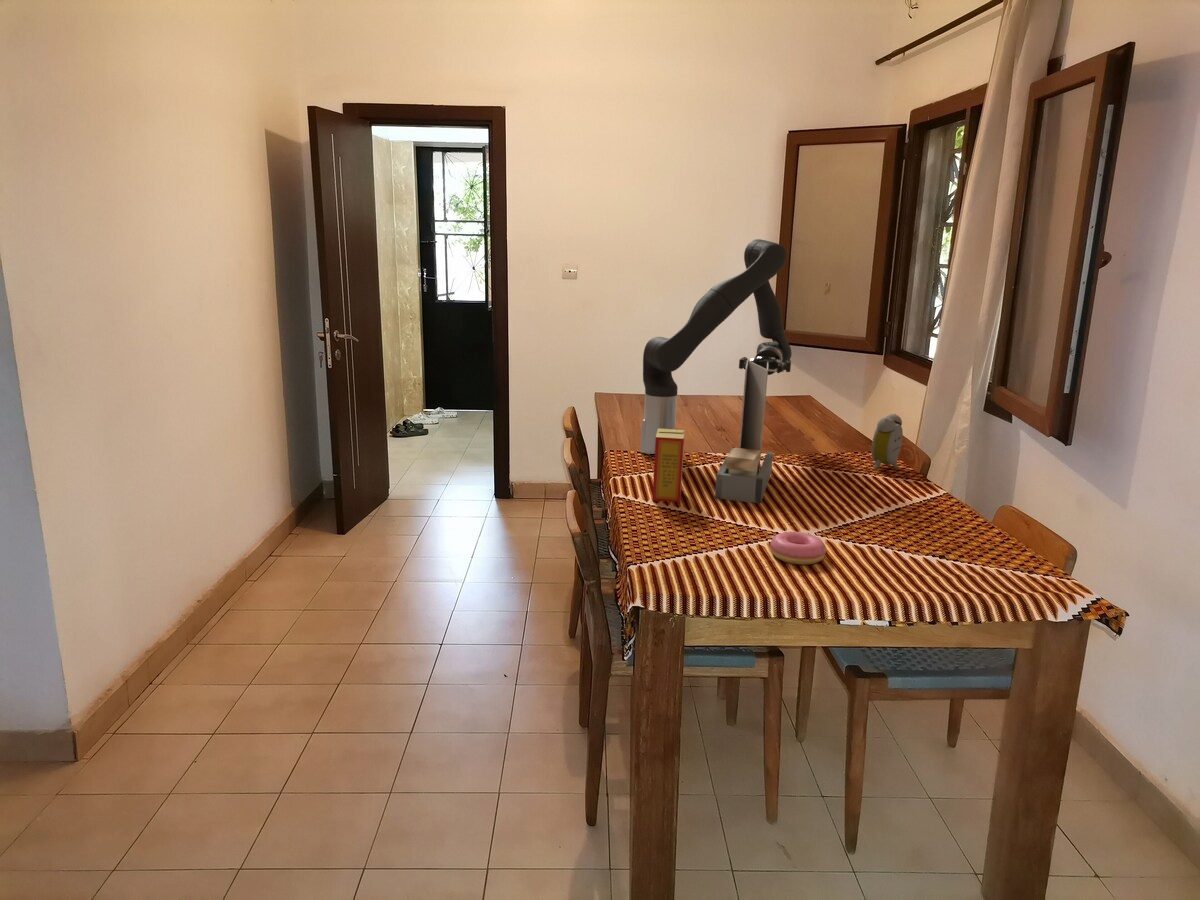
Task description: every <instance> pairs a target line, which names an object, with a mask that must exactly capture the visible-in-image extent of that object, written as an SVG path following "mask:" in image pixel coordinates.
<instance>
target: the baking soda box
mask: <svg viewBox="0 0 1200 900" xmlns="http://www.w3.org/2000/svg"><path fill="white" fill-rule="evenodd" d="M685 431H686V429H679V428H678V429H677V428H675V429H663V428H658V430H657V434H656V440H655V455H654V462H653V478H652V479H653V480H652V482H653V484H652V500H655V501H654V502H660V501H669V502H668V503H674V502H680V503H681V497H682V496H681V495H682V480H683V468H684V467H683V466H684V450H685V448H684V446H685V436H686V435H685V433H686V432H685ZM652 500H651V501H652Z"/></svg>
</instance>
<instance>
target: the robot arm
mask: <svg viewBox="0 0 1200 900" xmlns="http://www.w3.org/2000/svg"><path fill="white" fill-rule="evenodd" d="M787 257H788V254H787V250H786V248H785V247H784V246H783V245H781V244H779V243H778V242H774V241H770V240H766V239H761V238H758V239H753V240H751V241H750V242H748V243H747V245H746V247H745V250H744V252H743V261H744V265H745V270H744V271H742V272H741V273H739V274H737V275H734V276H733V277H730V278H728V279H727V278H726V279H725V280H723V281H720V282H719V283H717V284H716V285H713V286H712V288H710V289H709V290H708V291H707V292H706V293H704V295H703V296H701V297H700V299H699V300H698V301H697V302H696V303H695V305H694V307H693V309H692V311H691V314H690V316H689V319H688V320H687V322H686V323H685V325H683V326H682V328H680V329H679V331H677V332H676V333H675V334H673V335H672V336H671V337H670V338H667V337H664V336H663V337H662V336H655V337H652V338H651V339H650V340H648V341H647V342H646V345H645V346H644V350H643V354H642V355H643V356H642V381H643V385H644V391H645V392H644V407H643V408H644V409H643V410H644V411H643V412H644V414H643V419H642V421H641V435H640V436H641V437H640V454H641V453H643V454H647V455H650V454H655V440H656V434H657V430H658V428H663V429H676V424H677V422H676V420H677V405H678V403H677V402H678V384H677V382H676V381H674V378H673V375H672V372H675V371H677V370H678V369H680V368H681V366H683V364H684V363H686V361H687V360H688V359H689V357H691V355H692V354H693V352H695V350H696V349H697V348H698V347H699V345H700V344H701V343H702V342H703V341H704V340H705V339H707V338H708V337H709V335H711V333H713V332H714V330H716V329H717V328H718V327H719V326H720V325H721V324H722V323H723V322H725V321H726V320H727V318H729V317H730V315H732V314H733V312H734V311H735V310H736V309H738V308H739V306H741V305H742V304H743V303H744V302H745V301H746V300H747V299H748V298H749V297H750V296H751V295H752V294H753V296H754V301H755V305H756V309H757V310H756V311H757V319H758V327H759V333H760V336H761V337H762V338H764V339H770V340H773V341H764V342H761V343H760V344H758V345H757V347H756V355H755V357H751V358H750V359H748V357H746V356H743V357H741V358H740V359H739V361H738V369H740V370H742V369H743V370H745V368H746V364H747V360H748V361H750V362H753V363H755V364H757V365H759V366H761V367H763V368H765V369H767V362H768V376H771V375H774V374H775V373H776V374H781V373H783V372H784V371H785V373H791V370H792V369H791V368H792V367H791V365H792V360H791V358H792V348H791V346H790V343H789V341H788V339H787V336H786V334H785V333H786V332H785V330H784V324H783V315H782V309H781V305H780V303H779V300H778V298H777V296H776V295H775V292H774V291H773V288H772V286H771V283H770V280H771V279H772V278H774V277H775V276H777V274H778V273H780V271H781V270H782V269H783V267H784V266H785V264H786V261H787Z"/></svg>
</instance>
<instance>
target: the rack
mask: <svg viewBox="0 0 1200 900" xmlns="http://www.w3.org/2000/svg"><path fill="white" fill-rule="evenodd" d="M734 448H735V447H734ZM734 448H733V447H732V448H731V449H730V451H729V452H728V454H727V456H728V455H729V454H730V453H731V452H732V450H733V449H734ZM727 456H726V458H725V459H724V461H723V463H722V464H721V465H720V468H719V469H718V471H717V473H716V474H715V476H716V478H715V488H714V491H715V493H714V499H719V500H728V501H729V500H730V501H735V500H736V502H746V503H752V502H753V504H760V503H762V502H763V501H762V500H763V498H764V495H765V493H766V489H767V487H768V484H769V482H768V481H770V479H771V476H772V472H773V471H772V470H773V458H774V452H773V451H772V452H771V451H766V454H765V457H764V460H763V462H762V463H761V465H760V470H759V473H758V476H757V477H751V476H743V475H734V474H729V469H727V468H726V467H727ZM770 475H771V476H770ZM769 478H770V479H769ZM764 492H765V493H764Z"/></svg>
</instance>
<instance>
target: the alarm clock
mask: <svg viewBox="0 0 1200 900" xmlns="http://www.w3.org/2000/svg"><path fill="white" fill-rule="evenodd" d="M902 425H903V421H902V418H901V416H900V415H898V414H896V413H891V414H888V415H887V416H885V417H883V418H880V419H879V421H878V422H877V426H876V428H875V430H874V434H873V437H872V441H871V442H872V443H871V449H870V450H871V458H872V460H873V462H874V467H873V471H875V470H876V471H877V470H878V468H879V467H880V466H881V464H884V465H889V466H891V465H892V467H894V469H895V470H896V471H899V470H900V468H899V465H898V462H897V460H898V459H899V456H900V453H901V449H902V444H903V438H904V437H903V427H902Z"/></svg>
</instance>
